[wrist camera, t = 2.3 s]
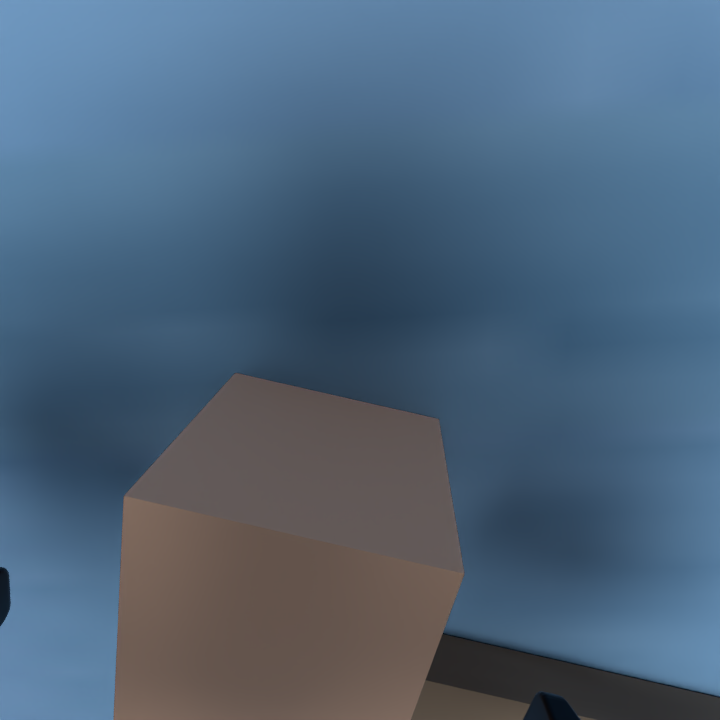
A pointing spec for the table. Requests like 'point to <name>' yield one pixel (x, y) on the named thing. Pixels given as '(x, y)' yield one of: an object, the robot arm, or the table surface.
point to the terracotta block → (286, 562)
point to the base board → (543, 688)
